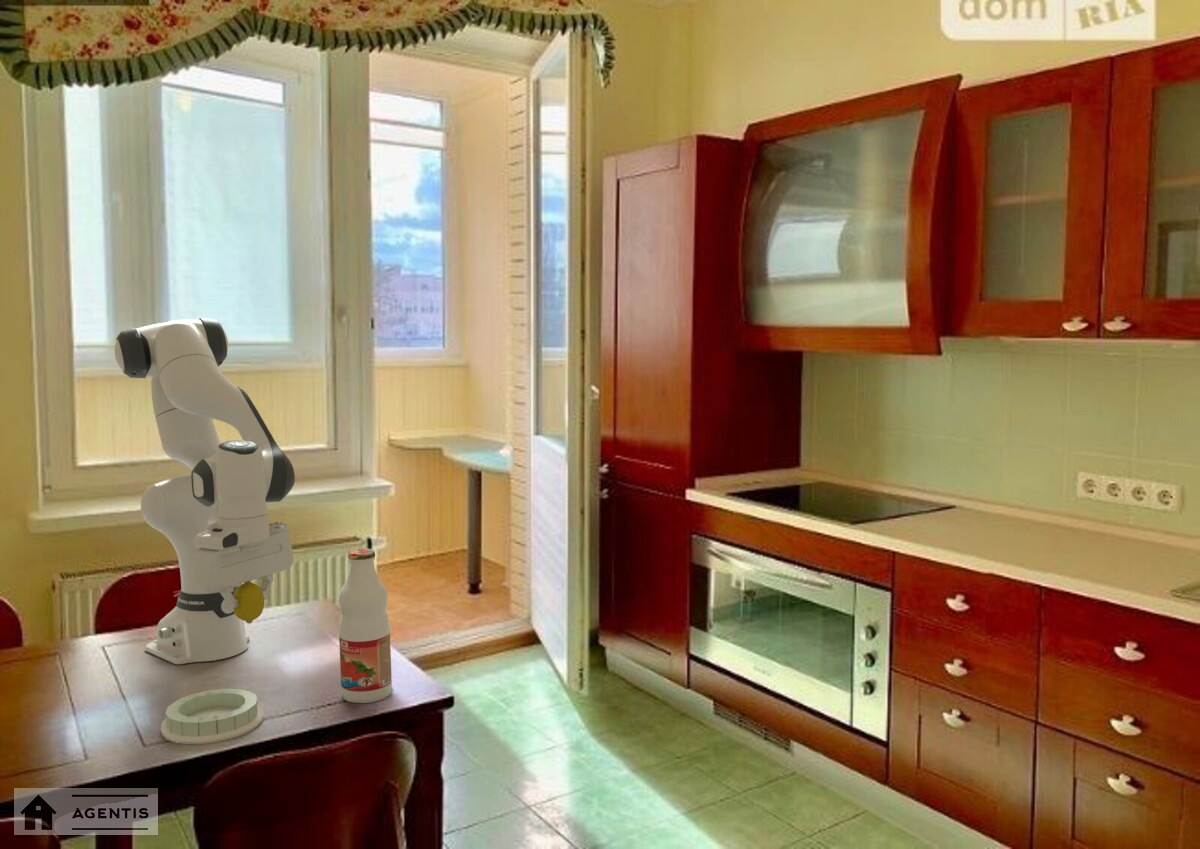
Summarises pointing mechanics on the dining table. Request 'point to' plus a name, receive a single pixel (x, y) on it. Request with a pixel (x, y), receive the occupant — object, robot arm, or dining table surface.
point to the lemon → (249, 602)
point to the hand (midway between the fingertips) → (247, 603)
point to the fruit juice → (364, 632)
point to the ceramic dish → (212, 716)
